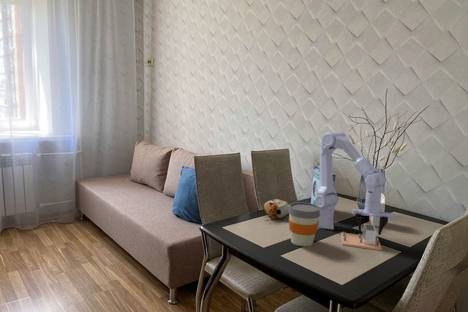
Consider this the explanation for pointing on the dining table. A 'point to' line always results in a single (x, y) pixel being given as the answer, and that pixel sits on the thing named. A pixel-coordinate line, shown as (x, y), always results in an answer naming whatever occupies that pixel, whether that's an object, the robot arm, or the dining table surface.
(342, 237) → the wooden peg board
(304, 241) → the reusable coffee cup
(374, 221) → the ink cartridge box
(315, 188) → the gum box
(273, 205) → the nautilus
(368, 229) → the drive
